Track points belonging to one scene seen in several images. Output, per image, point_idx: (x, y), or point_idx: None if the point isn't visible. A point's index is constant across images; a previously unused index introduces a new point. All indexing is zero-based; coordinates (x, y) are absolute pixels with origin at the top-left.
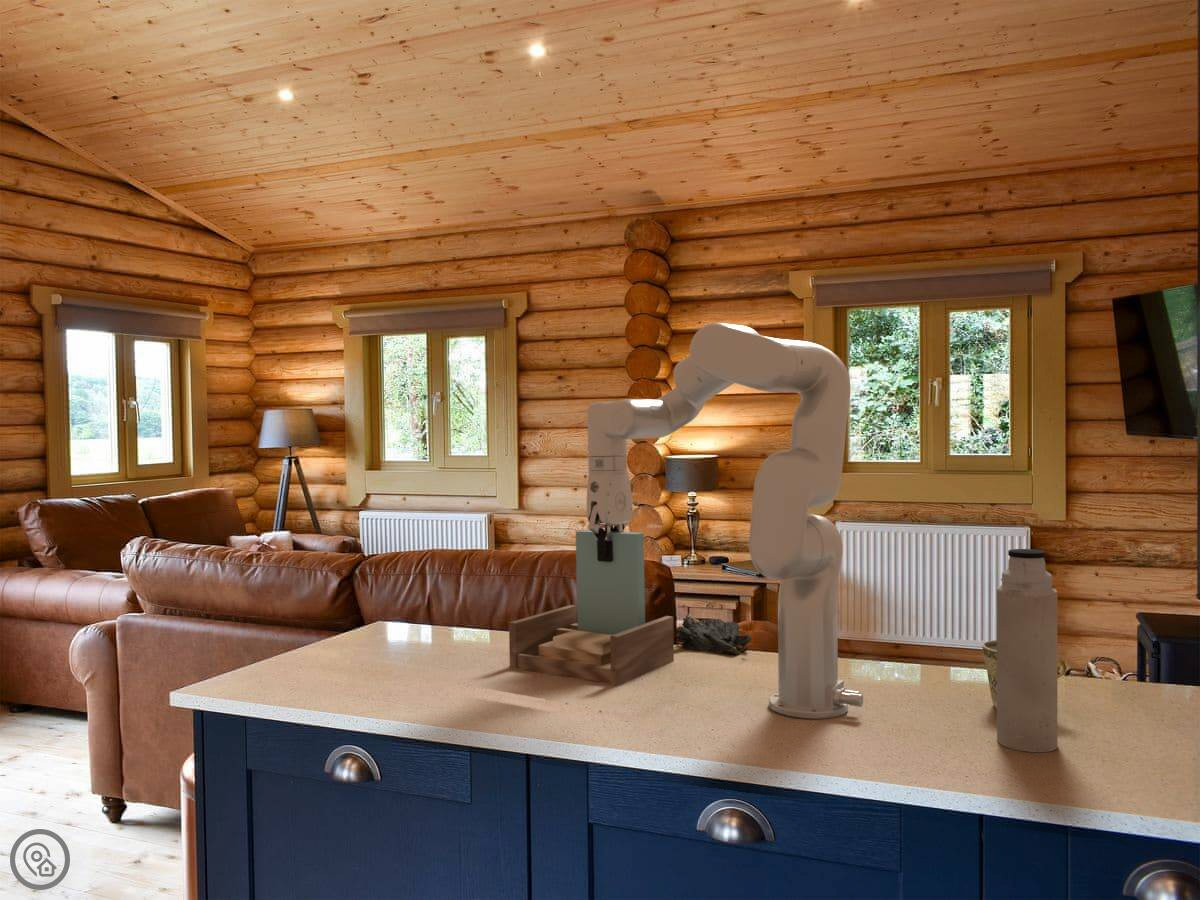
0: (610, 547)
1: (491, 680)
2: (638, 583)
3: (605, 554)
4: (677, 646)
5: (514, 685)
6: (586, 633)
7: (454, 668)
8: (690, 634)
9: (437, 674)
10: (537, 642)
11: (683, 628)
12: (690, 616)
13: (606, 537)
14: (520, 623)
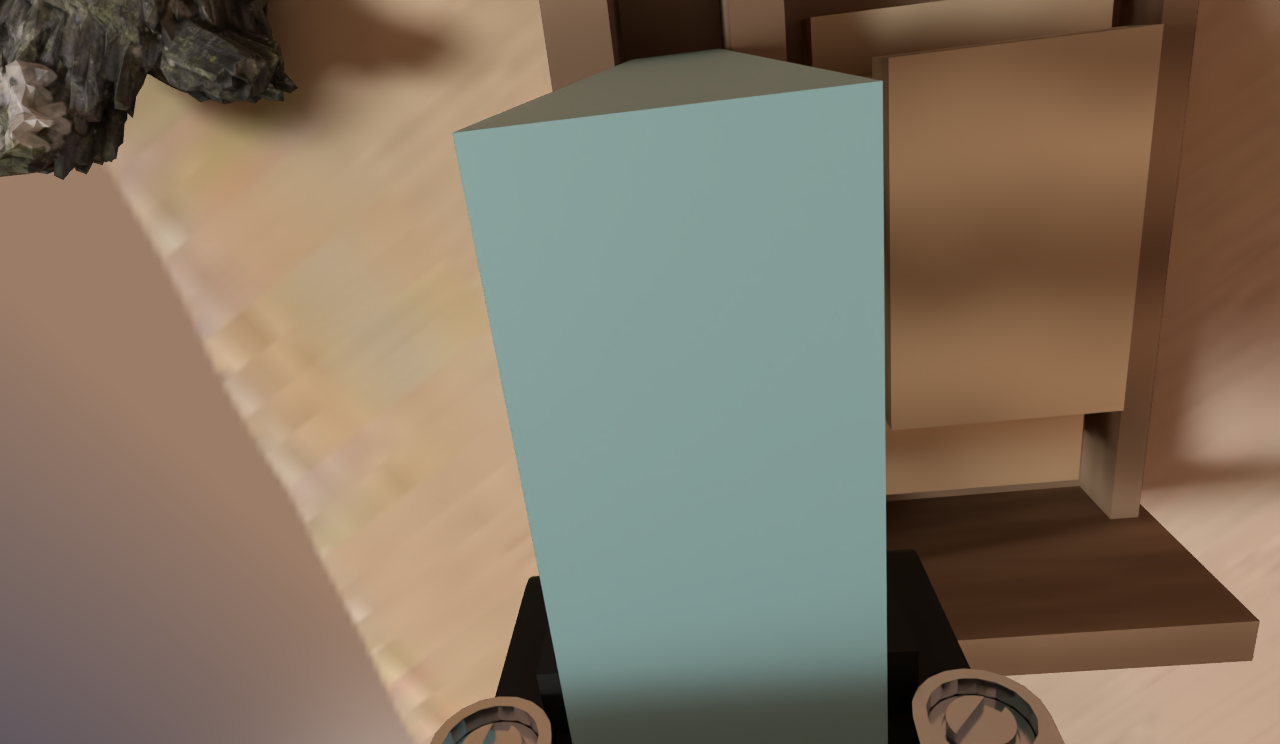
0: (892, 583)
1: (1201, 505)
2: (731, 56)
3: (919, 566)
4: (158, 221)
5: (1232, 378)
6: (940, 311)
7: (1101, 725)
8: (193, 22)
9: (1212, 715)
10: (977, 545)
11: (208, 59)
12: (31, 116)
13: (1058, 737)
14: (1199, 617)
